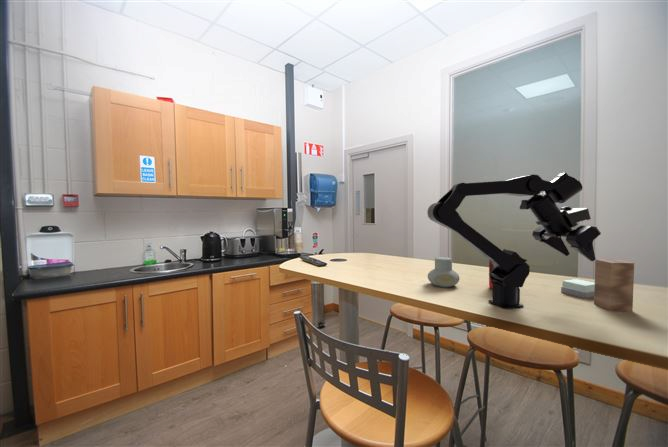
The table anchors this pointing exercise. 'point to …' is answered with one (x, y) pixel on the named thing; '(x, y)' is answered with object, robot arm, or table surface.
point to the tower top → (579, 285)
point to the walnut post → (614, 284)
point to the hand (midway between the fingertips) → (580, 257)
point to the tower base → (577, 293)
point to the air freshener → (443, 273)
